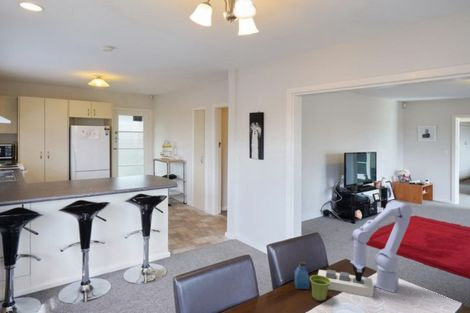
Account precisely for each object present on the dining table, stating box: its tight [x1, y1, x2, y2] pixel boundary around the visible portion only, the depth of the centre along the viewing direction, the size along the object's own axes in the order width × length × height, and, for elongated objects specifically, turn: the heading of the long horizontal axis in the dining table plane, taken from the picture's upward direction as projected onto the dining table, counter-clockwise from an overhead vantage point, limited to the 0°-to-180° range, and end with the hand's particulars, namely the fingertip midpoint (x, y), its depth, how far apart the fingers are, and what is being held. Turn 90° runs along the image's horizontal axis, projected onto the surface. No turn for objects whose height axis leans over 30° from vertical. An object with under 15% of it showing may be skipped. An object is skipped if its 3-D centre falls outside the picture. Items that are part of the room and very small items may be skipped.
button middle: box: [339, 271, 350, 282], centre depth 154 cm, size 4×4×4 cm
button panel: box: [317, 269, 374, 298], centre depth 154 cm, size 26×12×4 cm, turn 69°
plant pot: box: [309, 274, 331, 302], centre depth 142 cm, size 9×9×9 cm
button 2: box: [353, 278, 363, 284], centre depth 151 cm, size 4×4×4 cm
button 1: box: [326, 269, 337, 279], centre depth 156 cm, size 4×4×4 cm
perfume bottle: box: [293, 260, 311, 290], centre depth 153 cm, size 6×6×12 cm
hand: (358, 280), depth 151 cm, fingers closed, pressing on button 2
